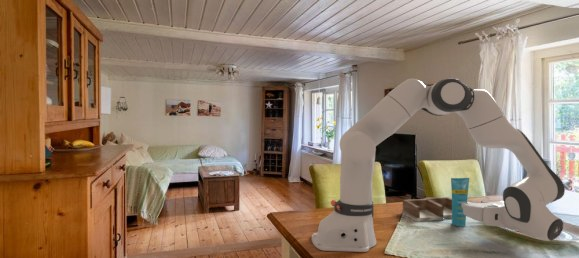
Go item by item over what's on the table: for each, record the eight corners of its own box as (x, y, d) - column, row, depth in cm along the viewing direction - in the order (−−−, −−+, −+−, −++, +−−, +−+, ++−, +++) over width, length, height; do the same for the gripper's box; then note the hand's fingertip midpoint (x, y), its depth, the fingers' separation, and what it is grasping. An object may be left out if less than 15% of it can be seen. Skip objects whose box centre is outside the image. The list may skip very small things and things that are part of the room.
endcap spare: (438, 218, 137) (438, 205, 137) (423, 210, 149) (423, 197, 149) (464, 217, 139) (464, 204, 138) (447, 209, 150) (447, 197, 150)
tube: (454, 227, 127) (455, 179, 126) (446, 223, 132) (447, 176, 131) (471, 226, 128) (472, 178, 127) (463, 222, 133) (464, 176, 132)
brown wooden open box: (416, 221, 134) (416, 207, 133) (402, 212, 146) (402, 199, 145) (443, 220, 135) (443, 206, 135) (427, 211, 147) (427, 198, 147)
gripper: (529, 203, 113) (493, 193, 126) (483, 207, 107) (451, 197, 120) (528, 220, 113) (493, 209, 126) (483, 226, 107) (451, 214, 120)
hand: (472, 203), depth 123 cm, fingers open, 8 cm apart
